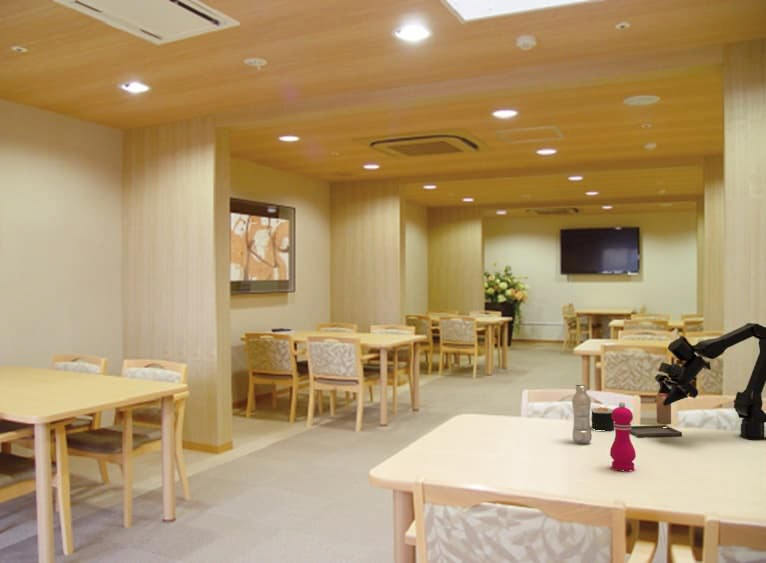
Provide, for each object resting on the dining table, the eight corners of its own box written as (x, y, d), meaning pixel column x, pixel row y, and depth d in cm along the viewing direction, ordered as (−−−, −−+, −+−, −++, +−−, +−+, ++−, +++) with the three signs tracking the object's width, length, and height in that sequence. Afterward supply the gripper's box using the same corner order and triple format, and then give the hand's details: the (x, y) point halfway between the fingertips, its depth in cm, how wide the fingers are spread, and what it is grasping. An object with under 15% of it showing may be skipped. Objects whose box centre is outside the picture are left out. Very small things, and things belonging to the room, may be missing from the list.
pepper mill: (637, 472, 192) (636, 404, 192) (612, 471, 194) (610, 404, 194) (633, 465, 200) (632, 400, 199) (608, 464, 201) (607, 399, 201)
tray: (665, 428, 246) (665, 424, 246) (681, 436, 234) (681, 432, 234) (623, 430, 245) (623, 426, 245) (638, 437, 233) (638, 433, 233)
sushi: (612, 427, 251) (612, 406, 251) (615, 432, 242) (614, 410, 242) (590, 426, 252) (590, 405, 252) (592, 431, 244) (591, 410, 244)
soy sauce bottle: (667, 421, 229) (666, 392, 229) (673, 424, 224) (673, 394, 224) (654, 421, 229) (653, 392, 229) (660, 424, 224) (660, 395, 224)
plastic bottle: (571, 444, 226) (570, 386, 226) (573, 439, 232) (572, 383, 232) (591, 446, 223) (589, 387, 223) (592, 441, 229) (591, 384, 229)
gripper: (659, 351, 236) (630, 383, 235) (689, 357, 218) (658, 392, 216) (680, 372, 237) (651, 404, 236) (711, 380, 219) (681, 415, 217)
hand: (659, 403), depth 226 cm, fingers closed on soy sauce bottle, 5 cm apart
